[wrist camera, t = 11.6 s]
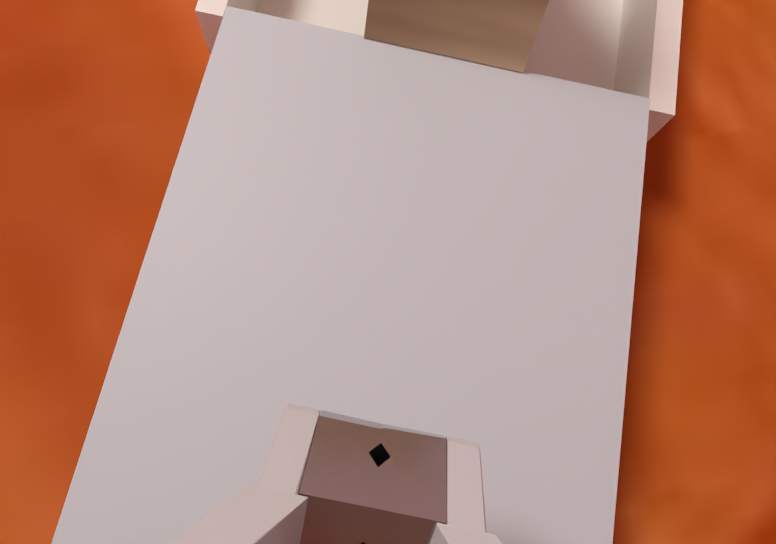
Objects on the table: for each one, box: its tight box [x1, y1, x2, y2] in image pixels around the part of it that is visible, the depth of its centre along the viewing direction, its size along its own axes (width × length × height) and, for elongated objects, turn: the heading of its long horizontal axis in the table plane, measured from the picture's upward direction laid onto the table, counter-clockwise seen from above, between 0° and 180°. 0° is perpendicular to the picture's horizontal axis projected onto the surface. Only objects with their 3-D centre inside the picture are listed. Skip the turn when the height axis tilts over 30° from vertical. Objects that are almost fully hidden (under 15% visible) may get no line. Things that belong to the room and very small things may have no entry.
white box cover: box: [51, 6, 650, 544], centre depth 16 cm, size 16×12×4 cm
